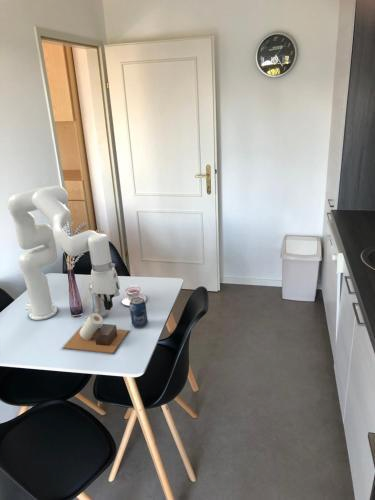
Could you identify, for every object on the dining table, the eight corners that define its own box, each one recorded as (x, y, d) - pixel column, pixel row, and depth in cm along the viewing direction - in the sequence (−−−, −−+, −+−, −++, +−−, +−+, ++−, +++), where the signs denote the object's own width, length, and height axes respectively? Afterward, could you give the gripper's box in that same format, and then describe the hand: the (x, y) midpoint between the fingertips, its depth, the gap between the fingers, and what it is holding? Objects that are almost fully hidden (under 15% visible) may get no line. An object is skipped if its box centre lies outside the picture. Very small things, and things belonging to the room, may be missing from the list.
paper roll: (78, 341, 173) (73, 316, 169) (85, 333, 179) (81, 309, 174) (101, 343, 171) (98, 319, 166) (108, 335, 176) (104, 311, 172)
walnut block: (95, 344, 170) (94, 334, 168) (104, 334, 177) (102, 323, 176) (109, 346, 169) (107, 335, 167) (117, 335, 176) (115, 324, 174)
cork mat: (63, 348, 170) (63, 347, 170) (82, 327, 184) (81, 326, 184) (113, 353, 164) (113, 352, 164) (128, 331, 179) (128, 330, 179)
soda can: (136, 330, 179) (133, 306, 175) (129, 324, 184) (126, 299, 180) (150, 325, 182) (148, 301, 178) (143, 319, 188) (140, 295, 184)
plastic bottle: (105, 319, 190) (99, 279, 182) (91, 319, 191) (84, 279, 184) (110, 312, 195) (104, 273, 188) (97, 311, 197) (90, 273, 190)
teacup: (144, 306, 199) (143, 294, 197) (119, 307, 200) (118, 295, 197) (147, 294, 210) (146, 283, 208) (123, 295, 211) (122, 284, 209)
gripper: (124, 262, 162) (129, 305, 168) (89, 261, 166) (96, 303, 172) (116, 270, 155) (122, 314, 161) (79, 269, 159) (87, 312, 165)
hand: (108, 308), depth 167 cm, fingers closed
